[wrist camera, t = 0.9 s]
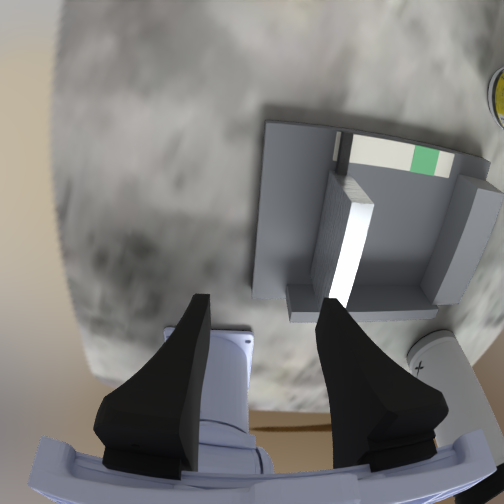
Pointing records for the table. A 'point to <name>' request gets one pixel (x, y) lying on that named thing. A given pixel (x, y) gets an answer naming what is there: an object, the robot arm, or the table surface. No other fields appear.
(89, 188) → the table surface
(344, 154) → the paddle
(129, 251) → the table surface
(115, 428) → the robot arm
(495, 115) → the supplement bottle
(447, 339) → the travel mug
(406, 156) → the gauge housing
